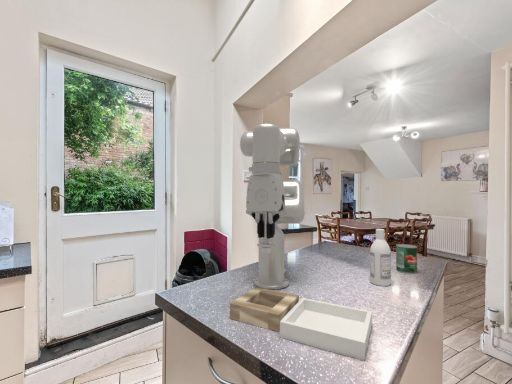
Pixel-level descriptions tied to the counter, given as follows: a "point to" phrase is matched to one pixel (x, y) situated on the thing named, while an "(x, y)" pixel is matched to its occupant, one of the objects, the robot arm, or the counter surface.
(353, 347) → the tray
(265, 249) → the screw
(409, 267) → the canned tomato
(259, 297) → the holder
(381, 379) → the counter surface
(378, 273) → the bath foam
